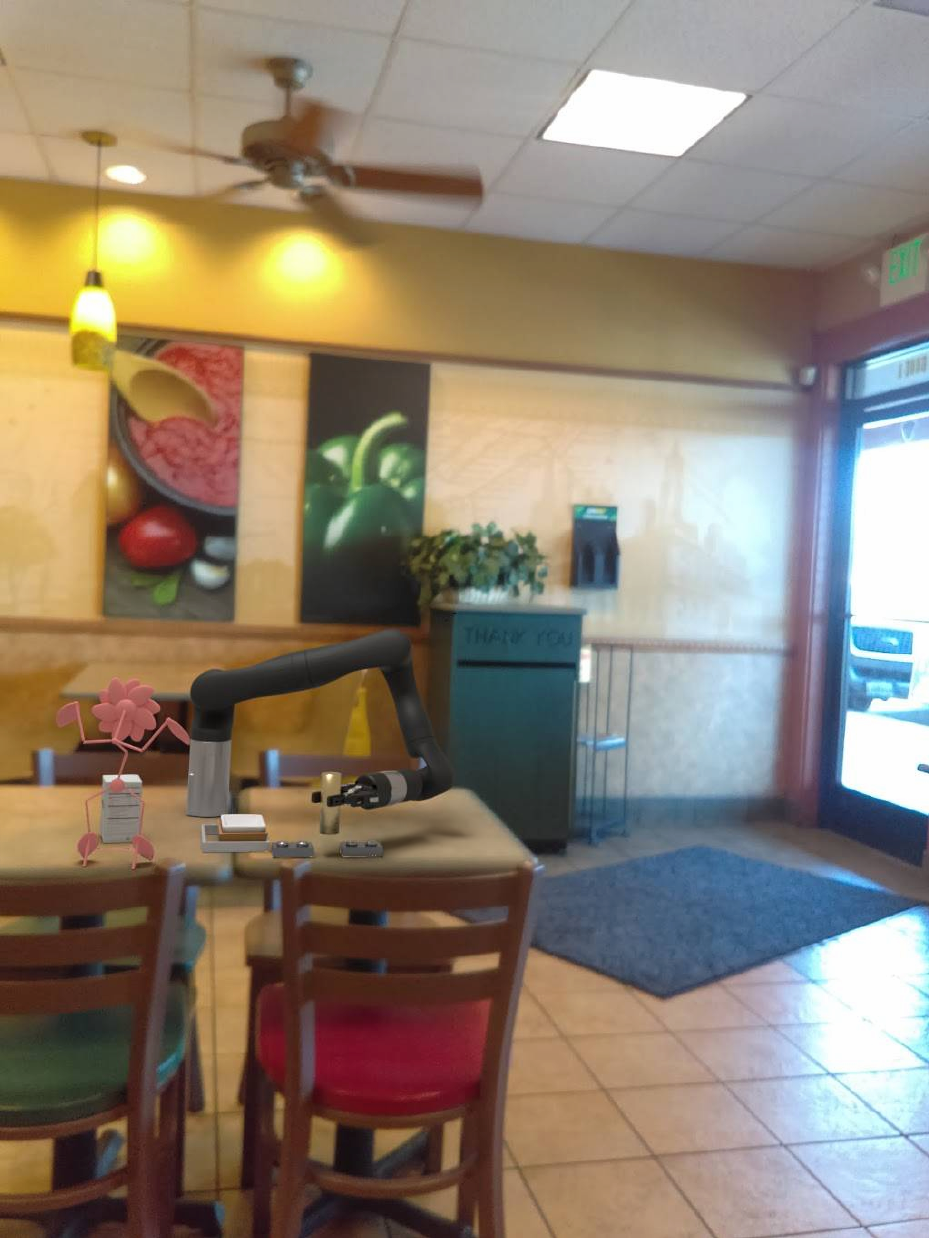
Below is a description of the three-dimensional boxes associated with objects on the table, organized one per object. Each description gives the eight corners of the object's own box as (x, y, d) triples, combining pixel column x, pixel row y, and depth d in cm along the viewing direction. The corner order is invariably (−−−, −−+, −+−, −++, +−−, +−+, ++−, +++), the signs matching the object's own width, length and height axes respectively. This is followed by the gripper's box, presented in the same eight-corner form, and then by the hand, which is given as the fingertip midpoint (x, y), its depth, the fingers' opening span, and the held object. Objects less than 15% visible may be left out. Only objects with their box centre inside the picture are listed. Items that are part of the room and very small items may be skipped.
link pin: (320, 834, 214) (322, 775, 213) (318, 829, 217) (320, 771, 217) (340, 834, 215) (342, 775, 214) (337, 829, 218) (340, 771, 218)
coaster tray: (202, 852, 212) (202, 842, 212) (201, 833, 227) (201, 824, 227) (269, 851, 215) (269, 842, 215) (263, 833, 230) (264, 824, 230)
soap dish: (267, 851, 217) (268, 826, 217) (218, 851, 214) (219, 826, 214) (263, 836, 229) (264, 812, 229) (216, 836, 226) (217, 812, 226)
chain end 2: (342, 857, 215) (343, 844, 215) (339, 851, 219) (340, 838, 219) (382, 856, 217) (382, 844, 217) (378, 851, 221) (378, 838, 221)
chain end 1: (272, 857, 211) (273, 844, 211) (271, 852, 215) (271, 839, 215) (313, 857, 213) (313, 844, 213) (310, 851, 217) (311, 839, 217)
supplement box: (99, 834, 221) (102, 774, 221) (136, 833, 224) (139, 773, 224) (102, 843, 214) (105, 781, 214) (140, 842, 217) (143, 780, 217)
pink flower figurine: (177, 873, 196) (187, 684, 196) (37, 866, 196) (47, 676, 196) (197, 853, 212) (206, 678, 211) (67, 847, 211) (76, 671, 211)
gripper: (358, 766, 231) (297, 775, 218) (405, 777, 222) (345, 787, 209) (356, 801, 231) (296, 812, 218) (403, 812, 222) (343, 825, 209)
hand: (320, 799), depth 214 cm, fingers closed on link pin, 4 cm apart
